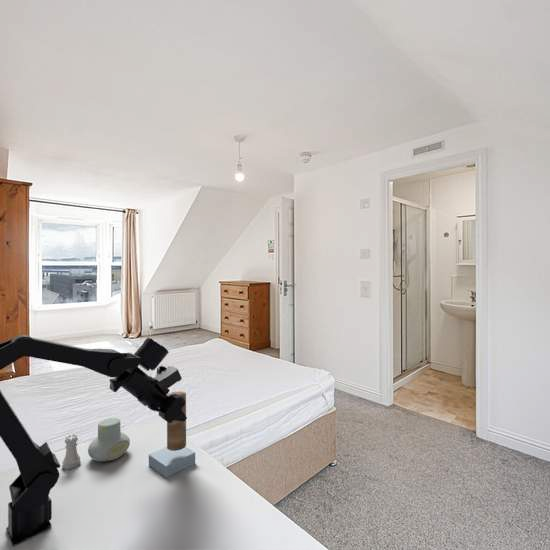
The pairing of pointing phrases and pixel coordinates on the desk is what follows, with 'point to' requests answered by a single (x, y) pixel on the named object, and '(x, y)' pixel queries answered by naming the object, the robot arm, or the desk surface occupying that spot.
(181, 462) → the pale blue square tile
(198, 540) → the desk surface
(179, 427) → the walnut pillar
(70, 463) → the rook chess piece
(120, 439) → the air freshener
